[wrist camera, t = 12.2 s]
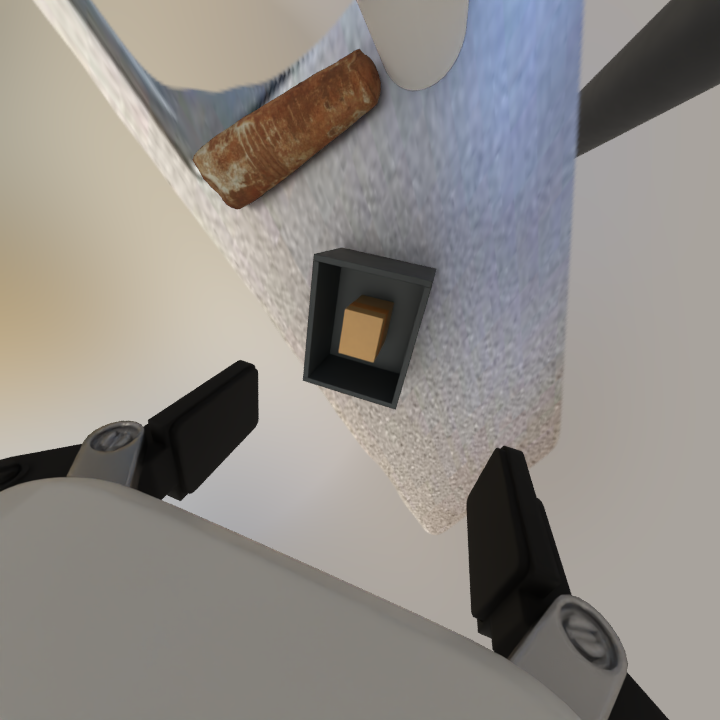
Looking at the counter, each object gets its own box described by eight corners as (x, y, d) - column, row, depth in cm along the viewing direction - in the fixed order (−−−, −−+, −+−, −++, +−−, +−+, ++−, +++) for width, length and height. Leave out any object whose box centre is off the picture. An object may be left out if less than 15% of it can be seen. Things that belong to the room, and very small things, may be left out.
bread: (221, 156, 32) (180, 144, 27) (372, 47, 25) (354, 4, 20) (247, 213, 34) (214, 211, 29) (395, 128, 27) (383, 107, 22)
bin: (341, 247, 33) (313, 253, 26) (436, 268, 31) (433, 281, 24) (327, 353, 40) (302, 380, 33) (405, 376, 38) (395, 409, 31)
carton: (362, 294, 34) (344, 308, 28) (394, 302, 33) (383, 318, 28) (355, 332, 36) (338, 352, 31) (385, 340, 36) (373, 363, 30)
